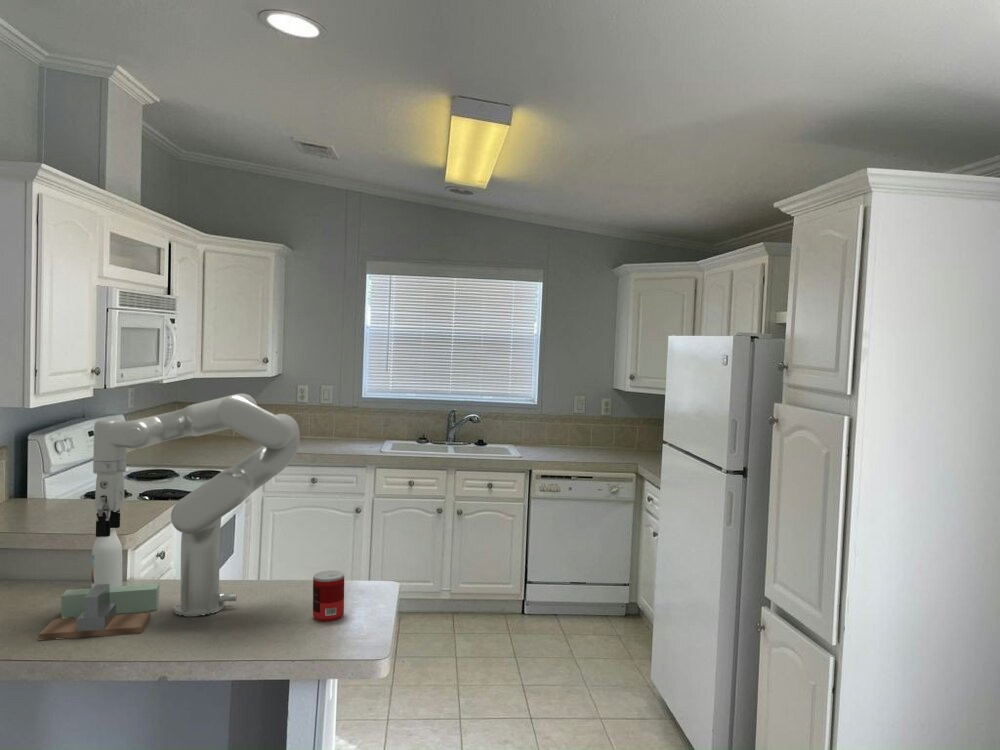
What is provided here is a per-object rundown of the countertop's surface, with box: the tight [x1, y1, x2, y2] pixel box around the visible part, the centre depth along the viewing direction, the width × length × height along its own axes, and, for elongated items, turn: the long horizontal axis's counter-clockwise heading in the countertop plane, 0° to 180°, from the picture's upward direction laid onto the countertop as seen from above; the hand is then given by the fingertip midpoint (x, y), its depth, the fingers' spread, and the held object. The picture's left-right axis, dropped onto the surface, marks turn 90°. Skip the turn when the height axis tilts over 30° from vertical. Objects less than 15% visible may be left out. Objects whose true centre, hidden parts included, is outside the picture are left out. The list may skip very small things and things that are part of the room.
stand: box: [38, 584, 152, 640], centre depth 175 cm, size 22×10×10 cm, turn 104°
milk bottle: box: [90, 528, 123, 588], centre depth 205 cm, size 8×8×20 cm
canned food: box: [312, 570, 345, 623], centre depth 186 cm, size 8×8×11 cm
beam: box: [60, 582, 160, 618], centre depth 188 cm, size 22×5×6 cm, turn 108°
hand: (108, 532), depth 187 cm, fingers open, 9 cm apart
